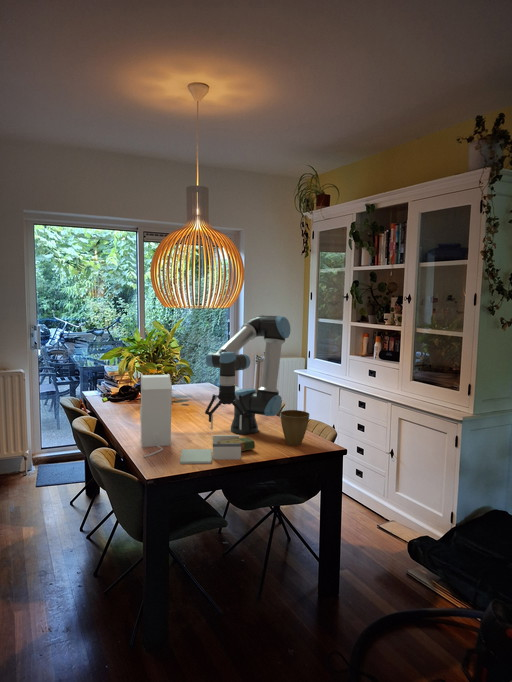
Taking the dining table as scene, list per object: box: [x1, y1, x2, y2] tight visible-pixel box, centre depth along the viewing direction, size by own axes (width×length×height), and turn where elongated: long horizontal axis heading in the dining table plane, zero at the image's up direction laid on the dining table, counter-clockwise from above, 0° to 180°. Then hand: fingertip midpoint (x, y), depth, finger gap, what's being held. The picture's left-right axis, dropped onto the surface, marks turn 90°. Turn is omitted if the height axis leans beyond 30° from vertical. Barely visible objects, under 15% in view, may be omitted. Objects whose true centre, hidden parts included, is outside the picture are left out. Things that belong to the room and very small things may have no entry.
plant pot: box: [279, 409, 310, 447], centre depth 254 cm, size 15×15×16 cm
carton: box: [218, 436, 256, 452], centre depth 241 cm, size 8×16×4 cm, turn 120°
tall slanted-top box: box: [139, 373, 173, 458], centre depth 245 cm, size 14×35×35 cm, turn 16°
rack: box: [212, 434, 242, 461], centre depth 238 cm, size 19×13×7 cm
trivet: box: [179, 448, 213, 465], centre depth 231 cm, size 18×14×1 cm
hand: (226, 429), depth 237 cm, fingers open, 13 cm apart
